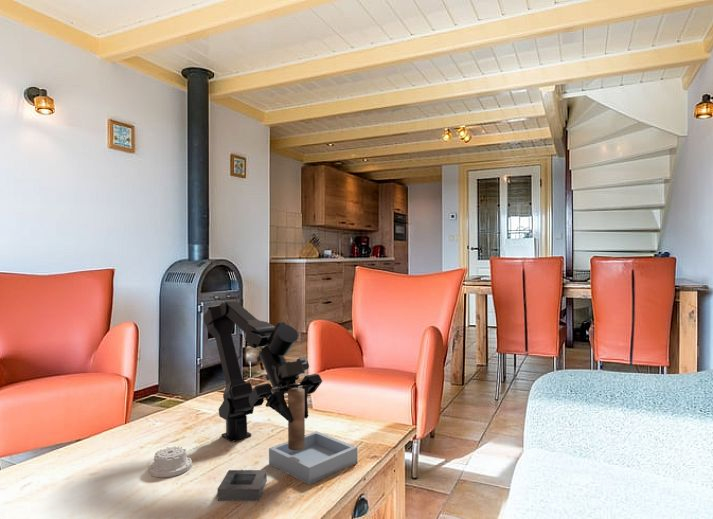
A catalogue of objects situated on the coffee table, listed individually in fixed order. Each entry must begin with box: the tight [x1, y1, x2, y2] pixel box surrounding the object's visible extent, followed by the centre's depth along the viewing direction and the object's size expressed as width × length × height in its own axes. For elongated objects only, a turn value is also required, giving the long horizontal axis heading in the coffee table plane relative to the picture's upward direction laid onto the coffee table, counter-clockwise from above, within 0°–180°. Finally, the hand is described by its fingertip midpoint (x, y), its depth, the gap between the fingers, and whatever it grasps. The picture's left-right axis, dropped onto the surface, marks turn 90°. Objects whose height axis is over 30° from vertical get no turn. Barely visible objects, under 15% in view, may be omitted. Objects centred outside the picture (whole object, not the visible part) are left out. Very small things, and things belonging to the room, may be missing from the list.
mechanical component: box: [148, 446, 193, 478], centre depth 120 cm, size 10×4×10 cm
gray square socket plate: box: [217, 469, 268, 501], centre depth 108 cm, size 9×9×2 cm
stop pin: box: [287, 388, 306, 450], centre depth 117 cm, size 4×4×14 cm
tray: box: [268, 430, 358, 486], centre depth 122 cm, size 16×16×4 cm
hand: (299, 419), depth 116 cm, fingers closed on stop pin, 4 cm apart
